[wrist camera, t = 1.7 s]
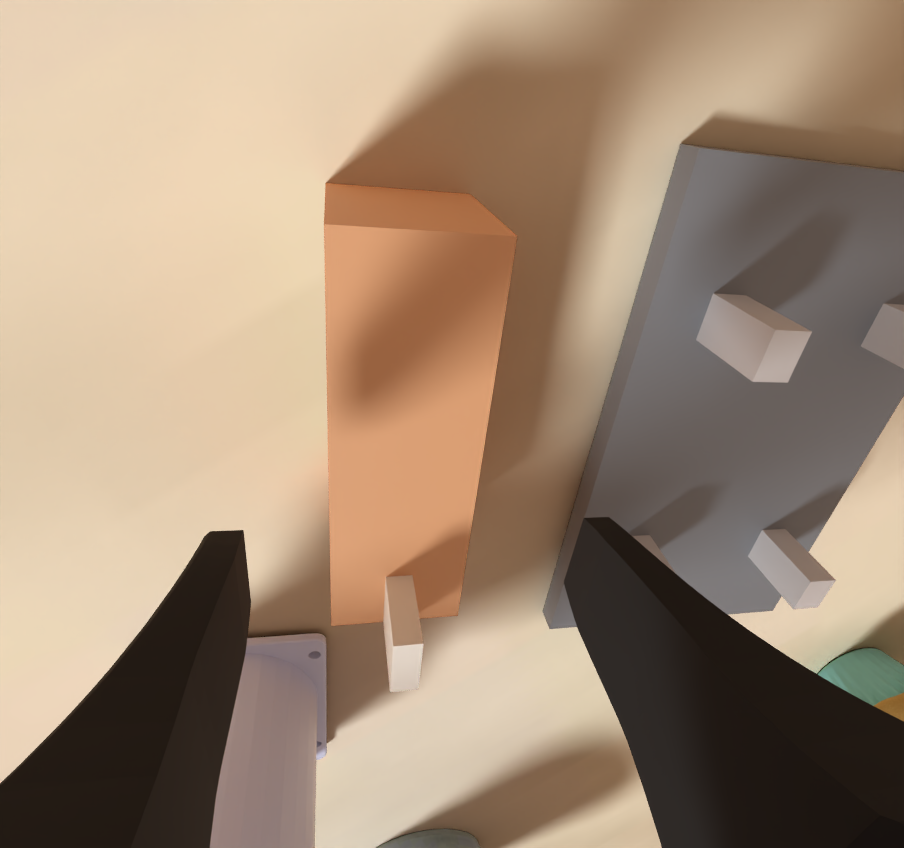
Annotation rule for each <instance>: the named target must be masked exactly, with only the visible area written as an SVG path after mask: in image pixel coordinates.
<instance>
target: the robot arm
mask: <svg viewBox="0 0 904 848" xmlns="http://www.w3.org/2000/svg"><path fill="white" fill-rule="evenodd" d="M564 585H565V589H566V592H567V596H568V599H569V603H570V606H571V610H572V613H573V616H574V619H575V622H576V625H577V628H578V630H579V632H580V635H581V637H582V639H583V641H584V644H585V646H586V648H587V650H588V653H589V655H590V657H591V660H592V662H593V664H594V666H595V668H596V671H597V673H598V675H599V677H600V679H601V682H602V684H603V686H604V688H605V691H606V693H607V695H608V697H609V699H610V702H611V704H612V706H613V708H614V710H615V713H616V715H617V717H618V719H619V722H620V724H621V727H622V729H623V732H624V734H625V736H626V739H627V741H628V744H629V747H630V750H631V753H632V756H633V759H634V762H635V765H636V768H637V770H638V773H639V776H640V779H641V782H642V785H643V788H644V791H645V794H646V797H647V801H648V804H649V807H650V810H651V813H652V817H653V820H654V823H655V826H656V829H657V832H658V836H659V839H660V842H661V846H662V848H904V721H902V720H900V719H898V718H896V717H894V716H892V715H890V714H888V713H886V712H884V711H882V710H880V709H878V708H877V707H875V706H873V705H871V704H869V703H867V702H865V701H863V700H861V699H860V698H858V697H856V696H854V695H852V694H850V693H849V692H847V691H845V690H843V689H841V688H840V687H838V686H836V685H834V684H833V683H831V682H829V681H828V680H826V679H824V678H823V677H821V676H819V675H817V674H816V673H814V672H812V671H811V670H809V669H807V668H806V667H804V666H802V665H801V664H799V663H798V662H796V661H794V660H793V659H791V658H790V657H788V656H786V655H785V654H783V653H782V652H780V651H779V650H777V649H776V648H774V647H773V646H771V645H770V644H768V643H767V642H765V641H764V640H762V639H761V638H759V637H758V636H756V635H755V634H753V633H752V632H751V631H749V630H748V629H746V628H745V627H744V626H742V625H741V624H739V623H738V622H737V621H735V620H734V619H733V618H731V617H730V616H729V615H727V614H726V613H725V612H723V611H722V610H721V609H719V608H718V607H717V606H715V605H714V604H713V603H711V602H710V601H709V600H708V599H706V598H705V597H704V596H703V595H701V594H700V593H699V592H698V591H696V590H695V589H694V588H693V587H691V586H690V585H689V584H688V583H686V582H685V581H684V580H683V579H682V578H680V577H679V576H678V575H677V574H676V573H674V572H673V571H672V570H671V569H670V568H669V567H667V566H666V565H665V564H664V563H663V562H661V561H660V560H659V559H658V558H657V557H656V556H655V555H653V554H652V553H651V552H650V551H649V550H648V549H646V548H645V547H644V546H643V545H642V544H641V543H639V542H638V541H637V540H636V539H635V538H634V537H633V536H631V535H630V534H629V533H628V532H627V531H626V530H624V529H623V528H622V527H621V526H620V525H618V524H617V523H616V522H615V521H613V520H612V519H611V518H610V517H592V518H584V519H583V522H582V525H581V528H580V531H579V535H578V538H577V541H576V544H575V547H574V551H573V554H572V557H571V560H570V563H569V567H568V570H567V573H566V576H565V579H564ZM250 606H251V599H250V589H249V579H248V570H247V560H246V551H245V541H244V532H243V530H238V531H211V532H209V533H208V534H207V535H206V536H204V538H203V540H202V542H201V543H200V545H199V547H198V549H197V550H196V552H195V553H194V555H193V557H192V558H191V560H190V562H189V563H188V565H187V566H186V568H185V569H184V571H183V572H182V574H181V575H180V577H179V578H178V580H177V581H176V583H175V584H174V586H173V587H172V589H171V590H170V592H169V593H168V594H167V596H166V597H165V598H164V600H163V601H162V603H161V604H160V605H159V607H158V608H157V610H156V611H155V612H154V614H153V615H152V616H151V618H150V619H149V621H148V622H147V623H146V625H145V626H144V627H143V628H142V630H141V631H140V632H139V634H138V635H137V636H136V637H135V639H134V640H133V641H132V642H131V643H130V645H129V646H128V647H127V648H126V650H125V651H124V652H123V653H122V655H121V656H120V657H119V658H118V660H117V661H116V662H115V663H114V665H113V666H112V667H111V668H110V669H109V671H108V672H107V673H106V674H105V675H104V676H103V678H102V679H101V680H100V681H99V682H98V683H97V685H96V686H95V687H94V688H93V689H92V690H91V691H90V692H89V694H88V695H87V696H86V697H85V698H84V699H83V700H82V701H81V702H80V703H79V704H78V706H77V707H76V708H75V709H74V710H73V711H72V712H71V713H70V714H69V715H68V716H67V717H66V719H65V720H64V721H63V722H62V723H61V724H60V725H59V726H58V727H57V728H56V729H55V730H54V731H53V732H52V733H51V734H50V735H49V736H48V737H47V738H46V739H45V740H44V741H43V742H42V743H41V744H40V745H39V746H38V747H37V748H36V749H35V750H34V751H33V752H32V753H31V754H30V755H29V756H28V757H27V758H26V759H25V760H24V761H23V762H22V763H21V764H20V765H19V766H18V767H17V768H16V769H15V770H14V771H13V772H12V773H11V774H10V775H9V776H8V777H7V778H6V779H4V780H3V781H2V782H1V783H0V848H315V798H316V760H318V759H321V758H323V757H324V756H325V755H326V753H327V702H326V637H325V636H324V635H322V634H319V633H310V634H297V635H284V636H271V637H257V638H247V636H248V627H249V616H250Z"/></svg>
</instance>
